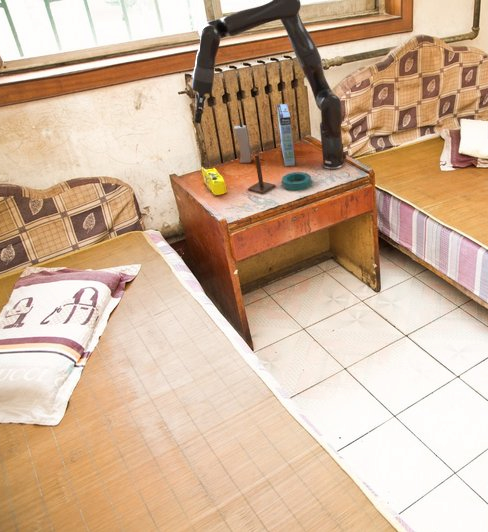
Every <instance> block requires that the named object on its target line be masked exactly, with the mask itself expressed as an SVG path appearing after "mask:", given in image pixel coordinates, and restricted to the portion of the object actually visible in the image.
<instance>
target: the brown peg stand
mask: <svg viewBox="0 0 488 532" xmlns="http://www.w3.org/2000/svg"><path fill="white" fill-rule="evenodd" d="M254 161H255V168H256V173H257V180H258V182H256V183H255V184H253V185H251V186H250V187H248V188H247V190H248V191H250V192H253V193H257V194H262V195H264V194H266V193H267V192H269V191H270V190H272V189H274V188H276V184H274V183H270V182H266V181H264V178H263V171H262V165H261V159H260V154H258V153H257V154H254Z"/></svg>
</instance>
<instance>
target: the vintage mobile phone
mask: <svg viewBox="0 0 488 532" xmlns="http://www.w3.org/2000/svg"><path fill="white" fill-rule="evenodd" d="M237 114H238V121H239V125H234V128H233V130H234V134H235V138H236V140H237V142H238V147H239V153H240V159H239V163H240V164H249V163H252V152H251V147H250V140H249V135H248V134H249V133H248V129H247V125H243V123H242V119H241V112H240V109H239V108H237Z"/></svg>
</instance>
